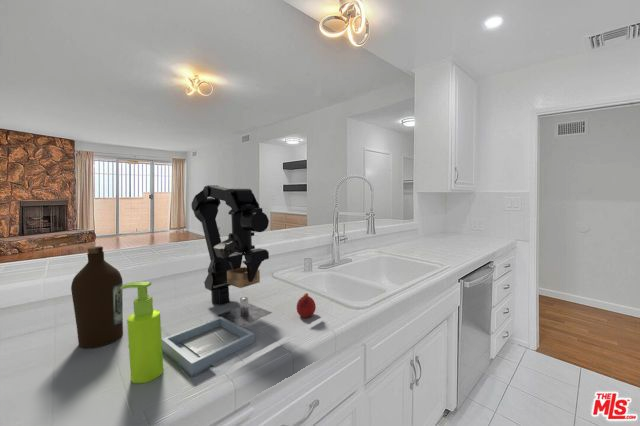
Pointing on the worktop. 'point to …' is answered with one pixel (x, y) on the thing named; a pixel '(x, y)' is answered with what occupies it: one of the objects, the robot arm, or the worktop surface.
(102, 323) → the olive oil
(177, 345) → the light blue frame
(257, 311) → the stake base
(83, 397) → the worktop surface
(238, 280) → the open wooden box frame
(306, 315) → the onion
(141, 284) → the soap dispenser
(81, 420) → the worktop surface
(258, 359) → the worktop surface
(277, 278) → the worktop surface
